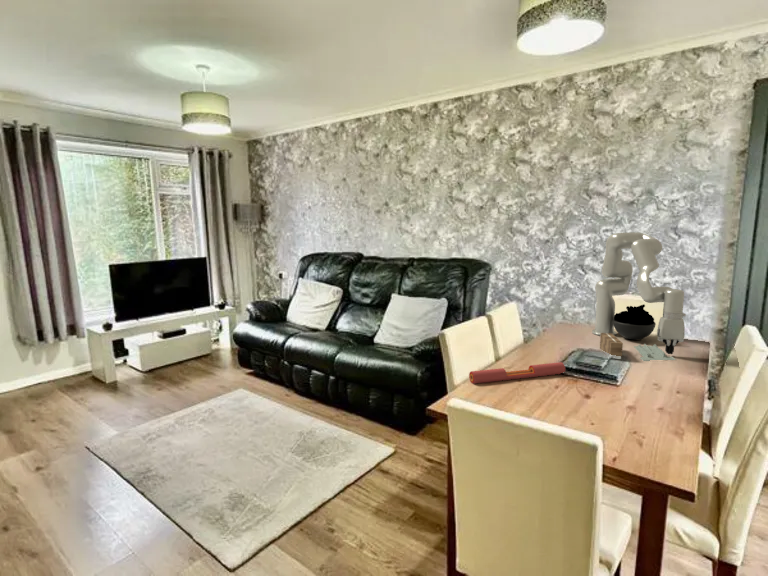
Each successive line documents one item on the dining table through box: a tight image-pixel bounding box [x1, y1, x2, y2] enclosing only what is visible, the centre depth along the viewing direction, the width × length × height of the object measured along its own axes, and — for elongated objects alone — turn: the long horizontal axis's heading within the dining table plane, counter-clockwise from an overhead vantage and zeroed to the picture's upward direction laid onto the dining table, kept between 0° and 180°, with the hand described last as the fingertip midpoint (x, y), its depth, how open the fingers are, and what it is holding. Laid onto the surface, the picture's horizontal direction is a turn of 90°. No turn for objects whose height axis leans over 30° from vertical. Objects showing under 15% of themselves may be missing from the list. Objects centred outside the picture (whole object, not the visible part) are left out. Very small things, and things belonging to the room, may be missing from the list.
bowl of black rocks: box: [613, 303, 657, 341], centre depth 227 cm, size 20×20×19 cm
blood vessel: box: [468, 361, 566, 385], centre depth 176 cm, size 42×5×5 cm, turn 103°
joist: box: [599, 333, 624, 357], centre depth 204 cm, size 18×5×8 cm, turn 167°
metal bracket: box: [633, 343, 677, 362], centre depth 199 cm, size 14×6×15 cm
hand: (669, 353), depth 199 cm, fingers closed
